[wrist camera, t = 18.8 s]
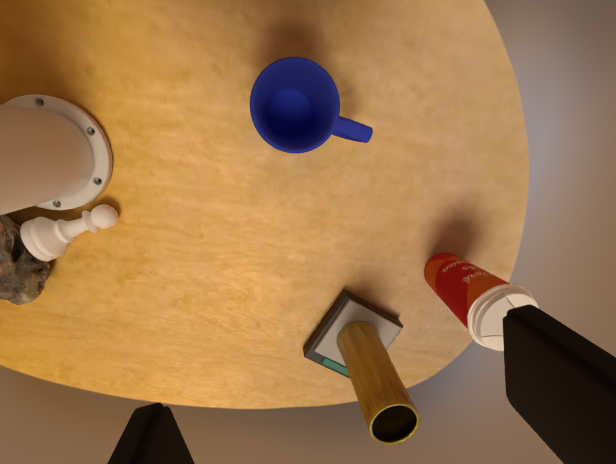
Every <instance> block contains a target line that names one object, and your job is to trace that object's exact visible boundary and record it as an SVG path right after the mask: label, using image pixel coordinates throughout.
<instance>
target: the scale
mask: <svg viewBox="0 0 616 464" xmlns="http://www.w3.org/2000/svg"><path fill="white" fill-rule="evenodd" d="M359 321H362V322H367V323H370V324H372V325H373V326H374V327H375V328H376V329H377V330H378V332H379V336H380V338H381V340H382V342H383V344H384V347H385V349H387V348H388V346H389V345H390V344H391V342H392V341H393V340H394V338H395V337H396V336H397V334H398V333H399V332H400V330H401V329H402V328H403V325H402V324H401V322H400V321H399V319H397V318H395V317H394V316H392V315H390V314H388V313H386V312H384V311H383V310H381V309H379V308H377V307H375V306H374V305H372V304H370V303H368V302H366V301H364V300H363V299H361V298H359V297H357V296H355V295H354V294H352V293H350V292H348V291H346V290H343V291H342V293H341V294H340V296H339V297H338V299H337V300H336V301H335V303H334V304H333V306H332V307H331V309H330V310H329V312H328V313H327V314H326V316H325V317H324V319H323V320H322V322H321V323H320V325H319V326H318V328H317V329H316V330H315V332H314V333H313V335H312V336H311V338H310V339H309V341H308V342H307V343H306V345H305V346H304V348H303V352H304V357H305V358H308V359H310V360H312V361H314V362H316V363H318V364H320V365H322V366H325V367H327V368H329V369H331V370H333V371H335V372H337V373H339V374H341V375H344V376H346V377H348V378H350V377H349V374H348V371H347V369H346V366H345V363H344V360H343V358H342V355H341V354H340V352H339V350H338V347H337V338H338V335H339V333H340V332H341V331H342V329H343V328H344V327H346V326H347V325H349V324H351V323H354V322H359Z"/></svg>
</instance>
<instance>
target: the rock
mask: <svg viewBox="0 0 616 464" xmlns="http://www.w3.org/2000/svg"><path fill="white" fill-rule="evenodd" d="M20 229H21V226H20V225H18V224H17V223H14V222H13V221H12V220H11V219H10V218H9V217H7V216H6V215H5V214H3V215H0V299H3V300H8V301H10V302H12V303H14V304H16V305H22V304H25V303H29V302H32V301H33V300H35V299H36V298H37V297H38V295H40V294H41V290H42V287H43V286H44V284H45V281H46V280H47V278H48V276H49V273H50V272H49V269H50V264H48V261H42V260H39V259H37V258H36V257H34V256H33V255H32V254H31V253H30V252H29V251H28V249H27V248H26V247H25V245H24V243H23V241H22V238H21V234H20Z"/></svg>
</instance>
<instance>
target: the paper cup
mask: <svg viewBox="0 0 616 464" xmlns="http://www.w3.org/2000/svg"><path fill="white" fill-rule="evenodd" d="M424 276H425V279H426V281H427V283H428V284H429V286H430V287H431V288H432V289H433V290H434V291H435V293H436V294H437V295H438V296H439V297H440V298H441V299H442V301H443V302H444V303H445V304H446V305H447V306H448V307H449V308H450V310H451V311H452V312H453V313H454V314H455V315H456V316H457V317H458V318H459V320H460V321H461V322H462V323H463V324H464V325H465V326H466V327H467V329H468V331H469V333H470V335H471V337H472V338H473V339H474V340H475V341H476V342H477V343H478V344H480V345H482V346H484V347H488V348H491V349H493V350H498V351H504V342H503V323H502V321H503V317H505V316H506V314H507V311H508V310H510V309H513V308H516V307H520V306H524V305H528V304H530V305H533V306H535V307H537V308H539V307H538V305H537V303H536V301H535V300H534V298H533V296H532V295H531V293H530V292H529V291H528V290H526V289H525V288H523V287H522V286H519V285H516V284H510V283H508V282H506V281H504V280H502V279H500V278H498V277H496V276H494V275H492V274H490V273H489V272H487V271H485V270H483V269H481V268H479V267H477V266H475V265H473V264H471V263H469V262H467V261H465V260H463V259H461V258H459V257H457V256H455V255H453V254H449V253H441V254H438V255H436V256H434V257H433V258H432V259H430V261H429V262H428V263H427V265H426V267H425V271H424Z"/></svg>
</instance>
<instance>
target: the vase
mask: <svg viewBox="0 0 616 464" xmlns="http://www.w3.org/2000/svg"><path fill="white" fill-rule="evenodd" d="M337 347H338V350H339V352H340V354H341V355H342V358H343V360H344V363H345V366H346V369H347V371H348V374H349V377H350V379H351V382H352V384H353V387H354V390H355V393H356V395H357V398H358V401H359V403H360V406H361V409H362V412H363V415H364V417H365V420H366V423H367V426H368V429H369V431H370V434H371V437H372V438H373V439H374V440H375V441H376V442H378V443H380V444H383V445H396V444H400V443H402V442H405V441H406V440H408V439H409V438H411V437H412V436H413V435H414V434H415V433H416V431H417V429H418V427H419V424H420V417H419V414H418V411H417V409H416V408H415V406H414V405H413V403H412V401H411V399H410V396H409V394H408V392H407V391H406V389H405V387H404V385H403V383H402V381H401V380H400V378H399V376H398V374H397V372H396V369H395V367H394V365H393V364H392V362H391V359H390V357H389V355H388V353H387V351H386V349H385V347H384V344H383V342H382V340H381V338H380V336H379V332H378V330H377V329H376V328H375V327H374V326H373V325H372V324H370V323H367V322H362V321H359V322H354V323H351V324H349V325H347V326H346V327H344V328H343V329H342V331H341V332H340V333H339V335H338V338H337Z"/></svg>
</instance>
